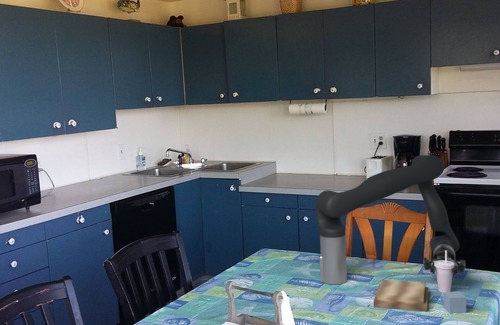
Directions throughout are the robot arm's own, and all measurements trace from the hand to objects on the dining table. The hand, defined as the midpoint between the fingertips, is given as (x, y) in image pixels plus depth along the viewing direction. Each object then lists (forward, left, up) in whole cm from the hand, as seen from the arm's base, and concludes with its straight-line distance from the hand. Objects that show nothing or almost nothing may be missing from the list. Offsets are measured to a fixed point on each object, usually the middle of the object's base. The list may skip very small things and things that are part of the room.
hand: (444, 271), depth 173 cm
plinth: (-13, -9, -8) cm, 17 cm away
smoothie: (0, +2, -8) cm, 8 cm away
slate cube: (+3, -14, -8) cm, 16 cm away
